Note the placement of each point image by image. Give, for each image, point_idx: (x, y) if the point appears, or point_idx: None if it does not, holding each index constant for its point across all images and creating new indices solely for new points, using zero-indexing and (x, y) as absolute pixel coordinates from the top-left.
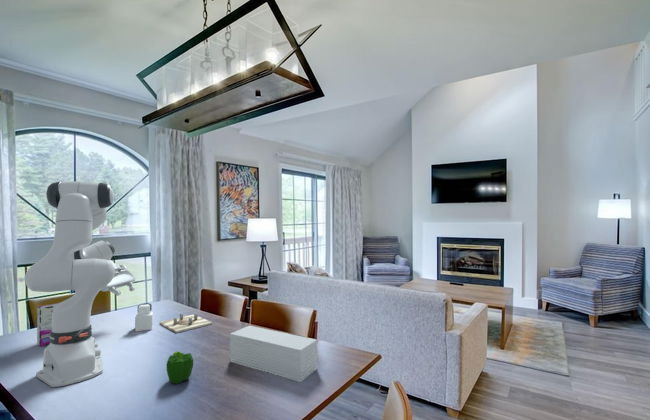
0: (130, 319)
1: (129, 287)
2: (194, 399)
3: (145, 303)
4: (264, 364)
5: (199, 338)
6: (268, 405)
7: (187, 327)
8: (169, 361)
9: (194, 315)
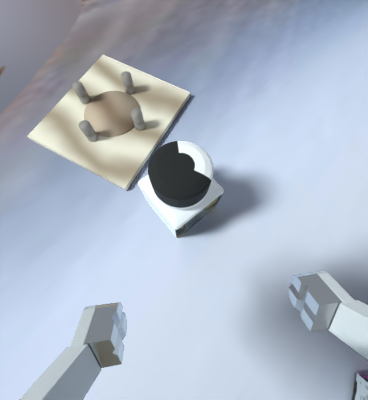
0: None
1: (81, 397)
2: None
3: (168, 170)
4: None
5: (204, 38)
6: None
7: (156, 83)
8: None
9: (83, 89)
